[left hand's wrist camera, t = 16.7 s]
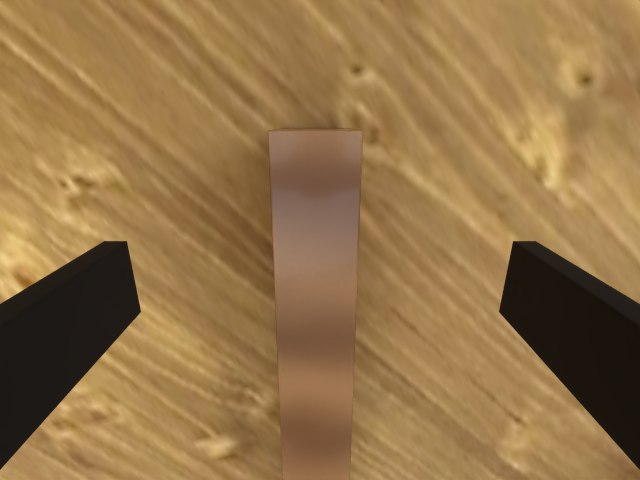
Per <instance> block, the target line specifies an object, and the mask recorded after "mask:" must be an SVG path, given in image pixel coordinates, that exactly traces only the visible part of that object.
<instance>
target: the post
mask: <svg viewBox="0 0 640 480" xmlns="http://www.w3.org/2000/svg"><path fill="white" fill-rule="evenodd" d="M362 142H363V131H362V130H356V129H349V128H282V129H274V130H269V131H268V148H269V171H270V194H271V218H272V241H273V265H274V288H275V312H276V335H277V358H278V382H279V405H280V429H281V452H282V476H283V480H350V459H351V433H352V406H353V380H354V353H355V327H356V300H357V274H358V248H359V221H360V195H361V168H362Z"/></svg>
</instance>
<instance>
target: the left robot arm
mask: <svg viewBox="0 0 640 480" xmlns="http://www.w3.org/2000/svg"><path fill="white" fill-rule="evenodd" d="M140 312H141V310H140V305H139V300H138V295H137V290H136V285H135V280H134V275H133V270H132V265H131V260H130V255H129V250H128V245H127V241H104V242H102V243H101V244H99V245H97V246H96V247H94V248H92V249H91V250H89V251H87V252H86V253H84V254H82V255H81V256H79V257H77V258H76V259H74V260H72V261H71V262H69V263H67V264H66V265H64V266H63V267H61V268H59V269H58V270H56V271H54V272H53V273H51V274H49V275H48V276H46V277H44V278H43V279H41V280H39V281H38V282H36V283H34V284H33V285H31V286H29V287H28V288H26V289H24V290H23V291H21V292H19V293H18V294H16V295H14V296H13V297H11V298H10V299H8V300H6V301H5V302H3V303H1V304H0V469H1V468H2V467H3V466H4V465H5V464H6V463H7V462H8V460H9V459H10V458H11V457H12V456H13V455H14V454H15V453H16V451H17V450H18V449H19V448H20V447H21V446H22V445H23V444H24V442H25V441H26V440H27V439H28V438H29V437H30V436H31V435H32V433H33V432H34V431H35V430H36V429H37V428H38V427H39V426H40V425H41V423H42V422H43V421H44V420H45V419H46V418H47V417H48V416H49V414H50V413H51V412H52V411H53V410H54V409H55V408H56V407H57V405H58V404H59V403H60V402H61V401H62V400H63V399H64V398H65V396H66V395H67V394H68V393H69V392H70V391H71V390H72V389H73V387H74V386H75V385H76V384H77V383H78V382H79V381H80V380H81V379H82V377H83V376H84V375H85V374H86V373H87V372H88V371H89V370H90V368H91V367H92V366H93V365H94V364H95V363H96V362H97V361H98V359H99V358H100V357H101V356H102V355H103V354H104V353H105V352H106V350H107V349H108V348H109V347H110V346H111V345H112V344H113V343H114V342H115V340H116V339H117V338H118V337H119V336H120V335H121V334H122V333H123V331H124V330H125V329H126V328H127V327H128V326H129V325H130V324H131V322H132V321H133V320H134V319H135V318H136V317H137V316H138V315H139V313H140ZM499 312H500V313H501V315H502V316H503V317H504V318H505V319H506V320H507V321H508V322H509V324H510V325H511V326H512V327H513V328H514V329H515V330H516V331H517V333H518V334H519V335H520V336H521V337H522V338H523V339H524V340H525V342H526V343H527V344H528V345H529V346H530V347H531V348H532V349H533V350H534V352H535V353H536V354H537V355H538V356H539V357H540V358H541V359H542V361H543V362H544V363H545V364H546V365H547V366H548V367H549V368H550V370H551V371H552V372H553V373H554V374H555V375H556V376H557V377H558V379H559V380H560V381H561V382H562V383H563V384H564V385H565V386H566V387H567V389H568V390H569V391H570V392H571V393H572V394H573V395H574V396H575V398H576V399H577V400H578V401H579V402H580V403H581V404H582V405H583V407H584V408H585V409H586V410H587V411H588V412H589V413H590V414H591V416H592V417H593V418H594V419H595V420H596V421H597V422H598V423H599V425H600V426H601V427H602V428H603V429H604V430H605V431H606V432H607V433H608V435H609V436H610V437H611V438H612V439H613V440H614V441H615V442H616V444H617V445H618V446H619V447H620V448H621V449H622V450H623V451H624V453H625V454H626V455H627V456H628V457H629V458H630V459H631V460H632V462H633V463H634V464H635V465H636V466H637V467H638V468H639V469H640V304H639V303H637V302H635V301H634V300H632V299H630V298H629V297H627V296H626V295H624V294H622V293H621V292H619V291H617V290H616V289H614V288H612V287H611V286H609V285H607V284H606V283H604V282H602V281H601V280H599V279H597V278H596V277H594V276H592V275H591V274H589V273H587V272H586V271H584V270H582V269H581V268H579V267H577V266H576V265H574V264H573V263H571V262H569V261H568V260H566V259H564V258H563V257H561V256H559V255H558V254H556V253H554V252H553V251H551V250H549V249H548V248H546V247H544V246H543V245H541V244H539V243H538V242H536V241H513V245H512V250H511V255H510V260H509V265H508V270H507V275H506V280H505V285H504V290H503V295H502V300H501V305H500V310H499Z"/></svg>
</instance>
